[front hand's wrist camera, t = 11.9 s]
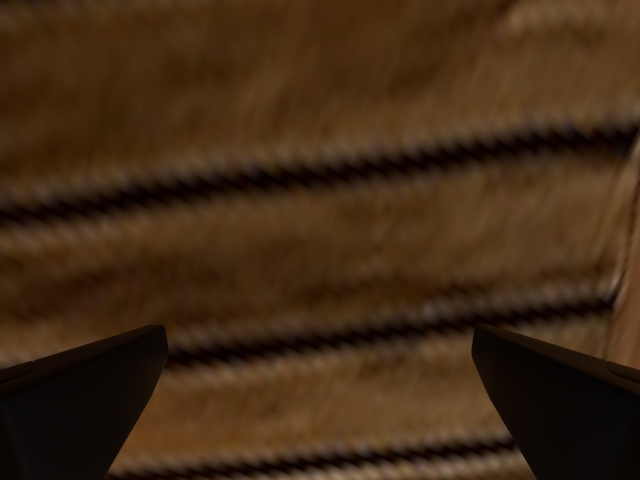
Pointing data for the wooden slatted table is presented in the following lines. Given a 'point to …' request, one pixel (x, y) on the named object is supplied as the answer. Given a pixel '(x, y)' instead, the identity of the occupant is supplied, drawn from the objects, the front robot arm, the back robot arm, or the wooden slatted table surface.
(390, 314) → the wooden slatted table surface
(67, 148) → the wooden slatted table surface
